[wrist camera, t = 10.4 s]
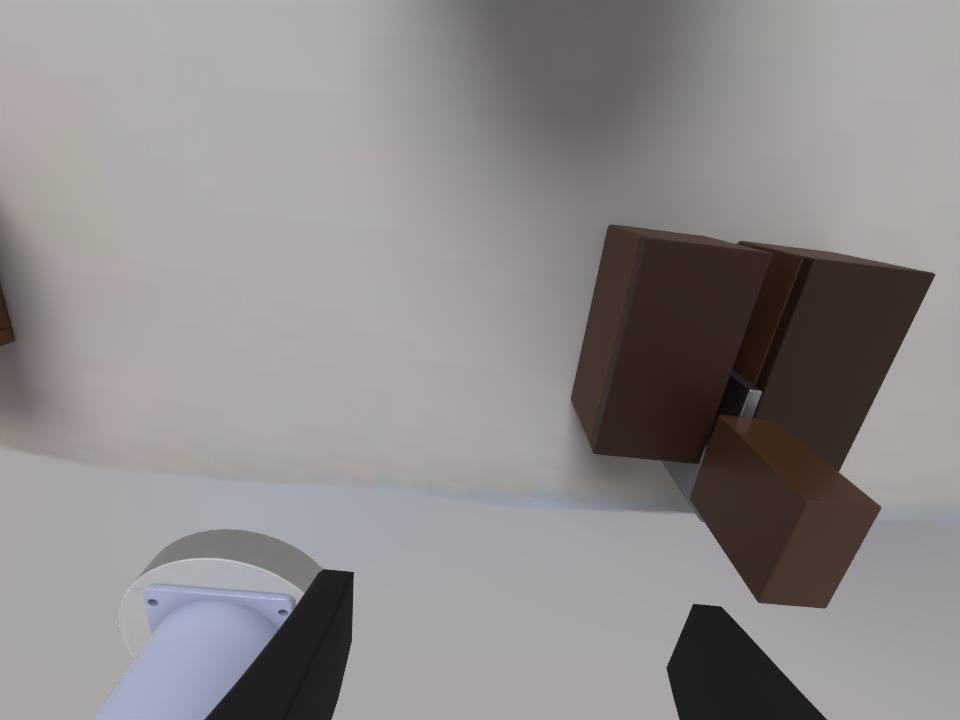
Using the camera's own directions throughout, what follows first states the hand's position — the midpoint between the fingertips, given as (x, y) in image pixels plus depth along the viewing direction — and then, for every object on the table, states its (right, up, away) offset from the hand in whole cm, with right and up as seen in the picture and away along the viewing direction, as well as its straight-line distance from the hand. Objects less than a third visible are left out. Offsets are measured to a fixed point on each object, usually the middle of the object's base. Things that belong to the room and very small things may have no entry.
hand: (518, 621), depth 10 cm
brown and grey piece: (+7, +4, +9) cm, 12 cm away
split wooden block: (+7, +7, +8) cm, 13 cm away
